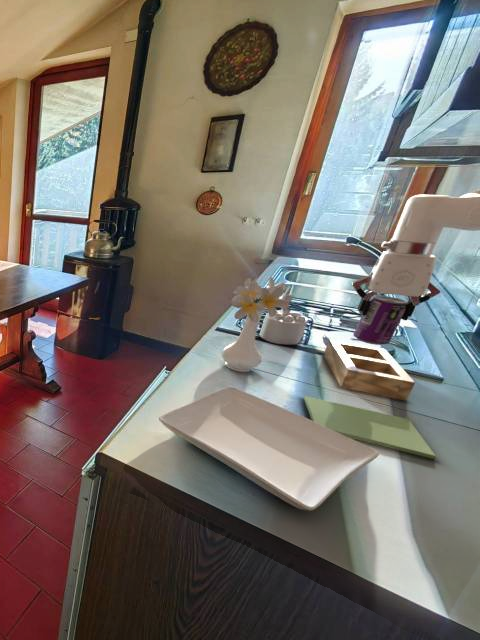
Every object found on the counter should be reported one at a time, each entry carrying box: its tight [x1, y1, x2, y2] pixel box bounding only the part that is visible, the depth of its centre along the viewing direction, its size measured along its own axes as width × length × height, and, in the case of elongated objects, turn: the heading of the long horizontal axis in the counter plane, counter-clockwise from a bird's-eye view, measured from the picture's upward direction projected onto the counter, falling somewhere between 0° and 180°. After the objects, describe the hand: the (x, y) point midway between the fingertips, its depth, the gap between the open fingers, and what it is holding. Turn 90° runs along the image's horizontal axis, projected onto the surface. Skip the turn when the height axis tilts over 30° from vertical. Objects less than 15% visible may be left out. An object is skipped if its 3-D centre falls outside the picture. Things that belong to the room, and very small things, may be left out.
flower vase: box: [220, 276, 294, 373], centre depth 103 cm, size 13×18×25 cm
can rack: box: [323, 339, 416, 401], centre depth 104 cm, size 12×22×5 cm, turn 149°
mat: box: [303, 395, 437, 460], centre depth 84 cm, size 18×14×1 cm
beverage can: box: [353, 295, 408, 346], centre depth 103 cm, size 7×7×12 cm
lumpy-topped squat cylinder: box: [259, 309, 309, 345], centre depth 127 cm, size 10×13×9 cm
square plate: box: [158, 385, 380, 512], centre depth 76 cm, size 27×27×4 cm
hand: (382, 315), depth 102 cm, fingers closed on beverage can, 7 cm apart
